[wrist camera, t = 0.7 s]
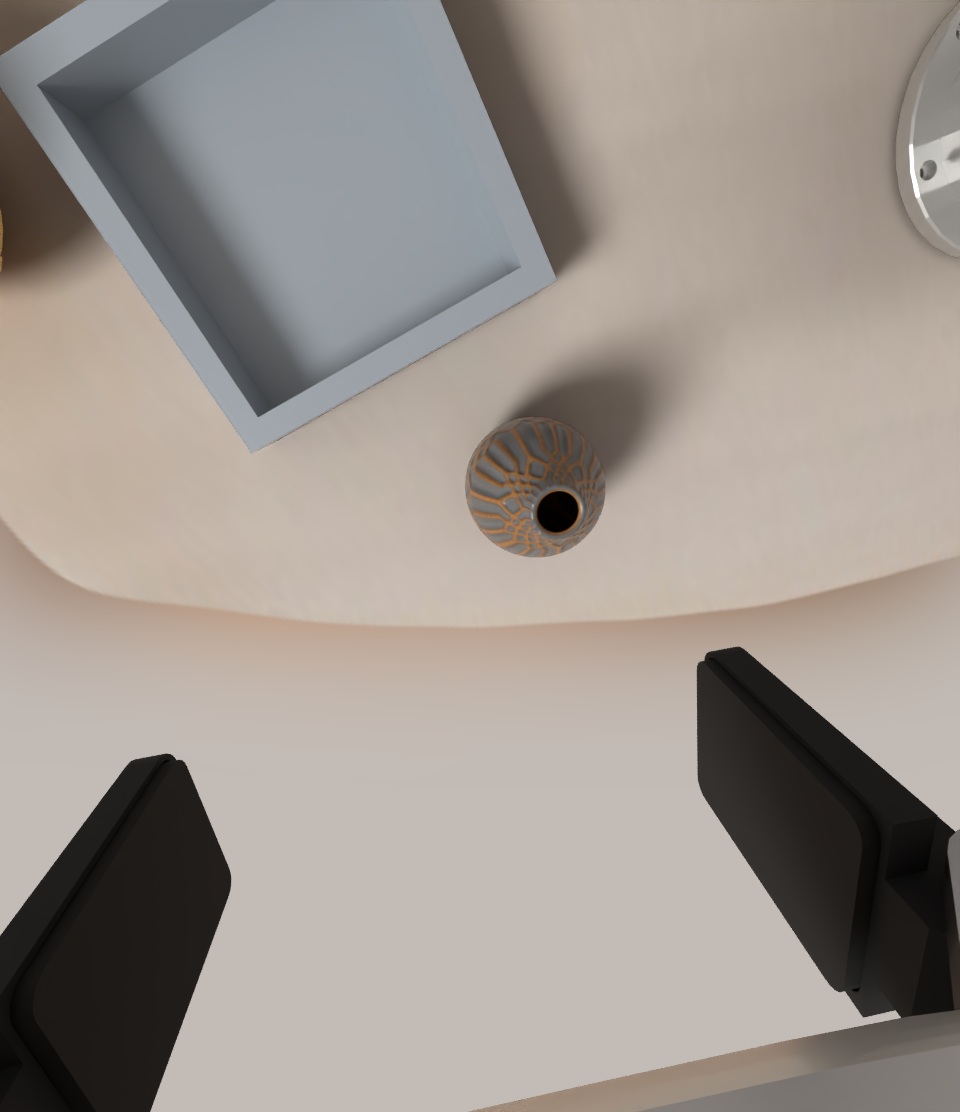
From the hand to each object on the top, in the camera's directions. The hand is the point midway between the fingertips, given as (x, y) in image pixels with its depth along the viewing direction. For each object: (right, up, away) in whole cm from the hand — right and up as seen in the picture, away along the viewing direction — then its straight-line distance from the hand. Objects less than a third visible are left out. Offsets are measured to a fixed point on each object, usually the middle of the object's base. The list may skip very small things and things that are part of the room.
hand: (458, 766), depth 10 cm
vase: (+3, +9, +21) cm, 23 cm away
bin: (-7, +20, +16) cm, 26 cm away
